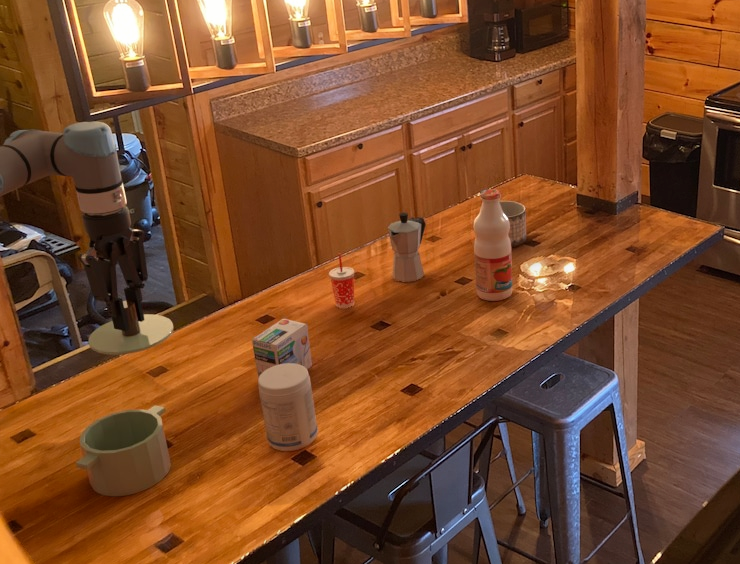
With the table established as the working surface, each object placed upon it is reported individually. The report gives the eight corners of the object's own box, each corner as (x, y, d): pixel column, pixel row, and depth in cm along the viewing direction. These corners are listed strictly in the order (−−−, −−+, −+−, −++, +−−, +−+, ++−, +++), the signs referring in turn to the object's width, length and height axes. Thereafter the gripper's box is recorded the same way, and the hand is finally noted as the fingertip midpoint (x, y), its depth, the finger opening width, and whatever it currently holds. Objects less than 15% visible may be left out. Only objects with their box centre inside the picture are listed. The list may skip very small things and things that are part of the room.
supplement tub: (297, 419, 193) (288, 356, 187) (328, 435, 188) (320, 371, 182) (257, 442, 186) (246, 378, 180) (288, 459, 181) (278, 394, 175)
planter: (531, 235, 280) (531, 203, 276) (518, 253, 269) (517, 219, 264) (491, 231, 283) (489, 199, 278) (476, 248, 271) (474, 214, 267)
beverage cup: (327, 304, 239) (321, 254, 234) (348, 296, 244) (342, 246, 238) (342, 312, 236) (336, 261, 230) (362, 303, 240) (357, 253, 234)
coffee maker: (408, 288, 248) (402, 224, 241) (380, 281, 251) (374, 219, 244) (440, 266, 260) (436, 205, 253) (413, 260, 264) (409, 200, 256)
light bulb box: (282, 389, 204) (275, 345, 199) (257, 382, 206) (250, 339, 201) (313, 365, 213) (308, 322, 208) (289, 359, 215) (283, 317, 211)
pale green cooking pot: (61, 496, 171) (49, 452, 167) (139, 437, 187) (130, 396, 184) (122, 512, 167) (111, 468, 163) (196, 451, 183) (188, 409, 180)
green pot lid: (71, 349, 176) (62, 315, 173) (131, 314, 189) (124, 281, 186) (133, 363, 172) (126, 328, 169) (190, 327, 184) (184, 293, 181)
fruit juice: (484, 283, 251) (479, 184, 240) (518, 288, 249) (514, 187, 237) (470, 299, 243) (465, 196, 231) (505, 304, 240) (501, 200, 229)
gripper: (84, 228, 161) (111, 348, 171) (155, 196, 176) (176, 308, 185) (50, 222, 164) (79, 341, 173) (122, 191, 178) (146, 302, 187)
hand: (129, 324), depth 179 cm, fingers closed on green pot lid, 3 cm apart
